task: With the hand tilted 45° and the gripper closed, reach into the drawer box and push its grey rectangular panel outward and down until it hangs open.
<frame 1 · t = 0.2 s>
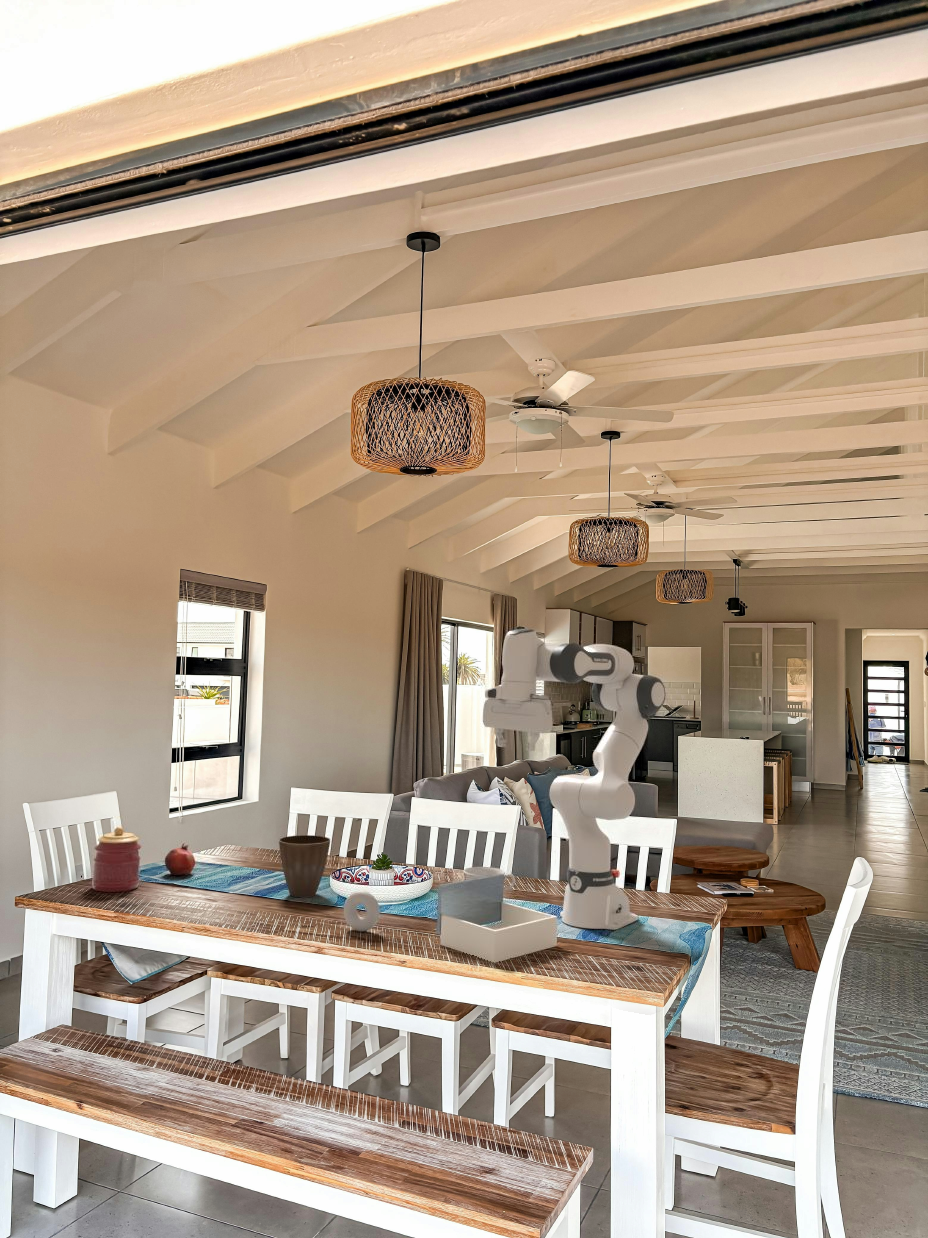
hand: (515, 748, 222), 47 cm above the table, tool pointing down, fingers open, 8 cm apart
donut: (360, 932, 224), on the table
teacup: (488, 908, 253), on the table
plant pot: (302, 895, 260), on the table
grey rectangular panel: (469, 902, 224), point 8 cm above the table, hinge at 0.0°
canister: (115, 888, 261), on the table
drawer box: (498, 945, 215), on the table
fruit: (179, 875, 281), on the table
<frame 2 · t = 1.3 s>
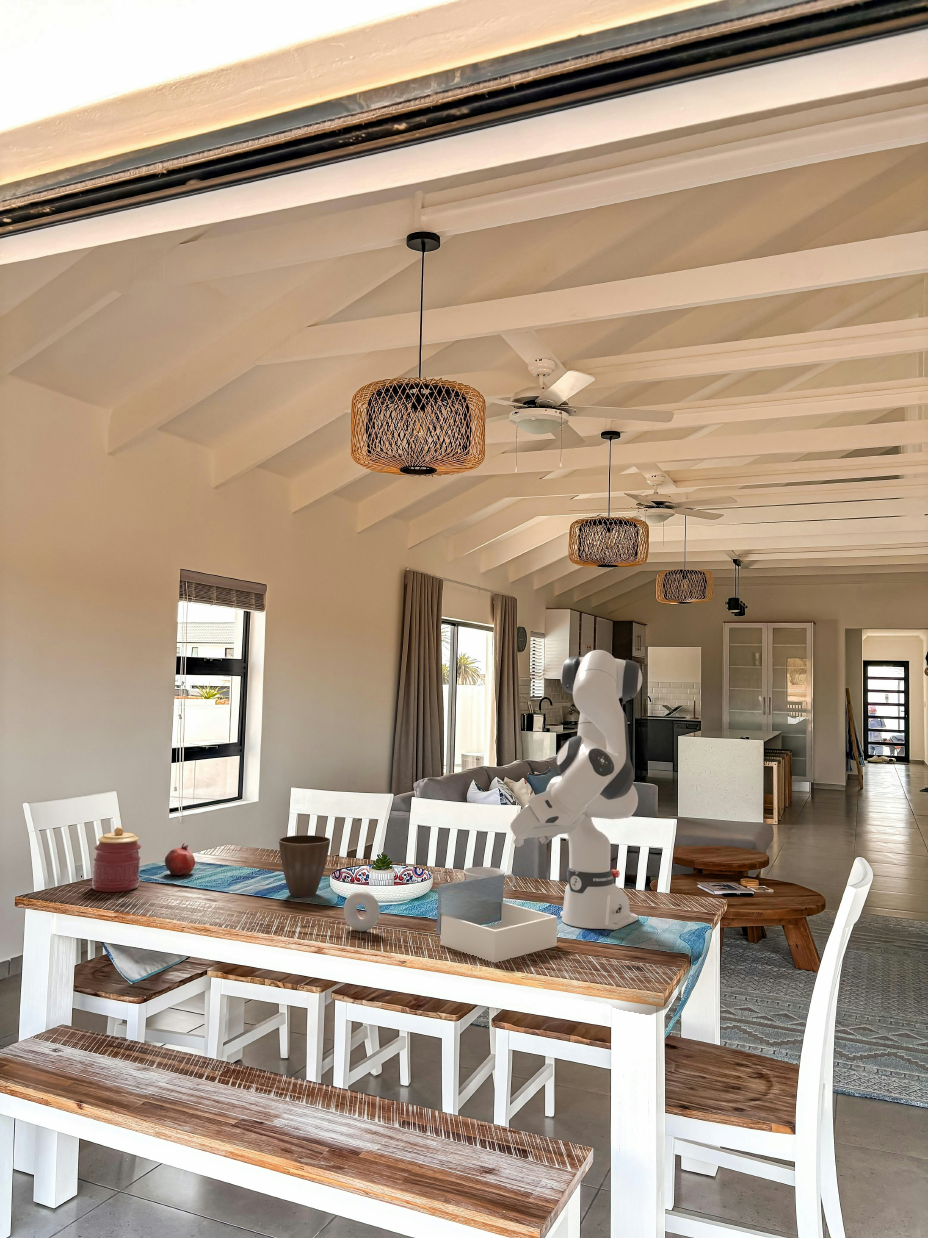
hand: (529, 842, 211), 26 cm above the table, tool tilted 45°, fingers open, 8 cm apart
nothing on the table moved.
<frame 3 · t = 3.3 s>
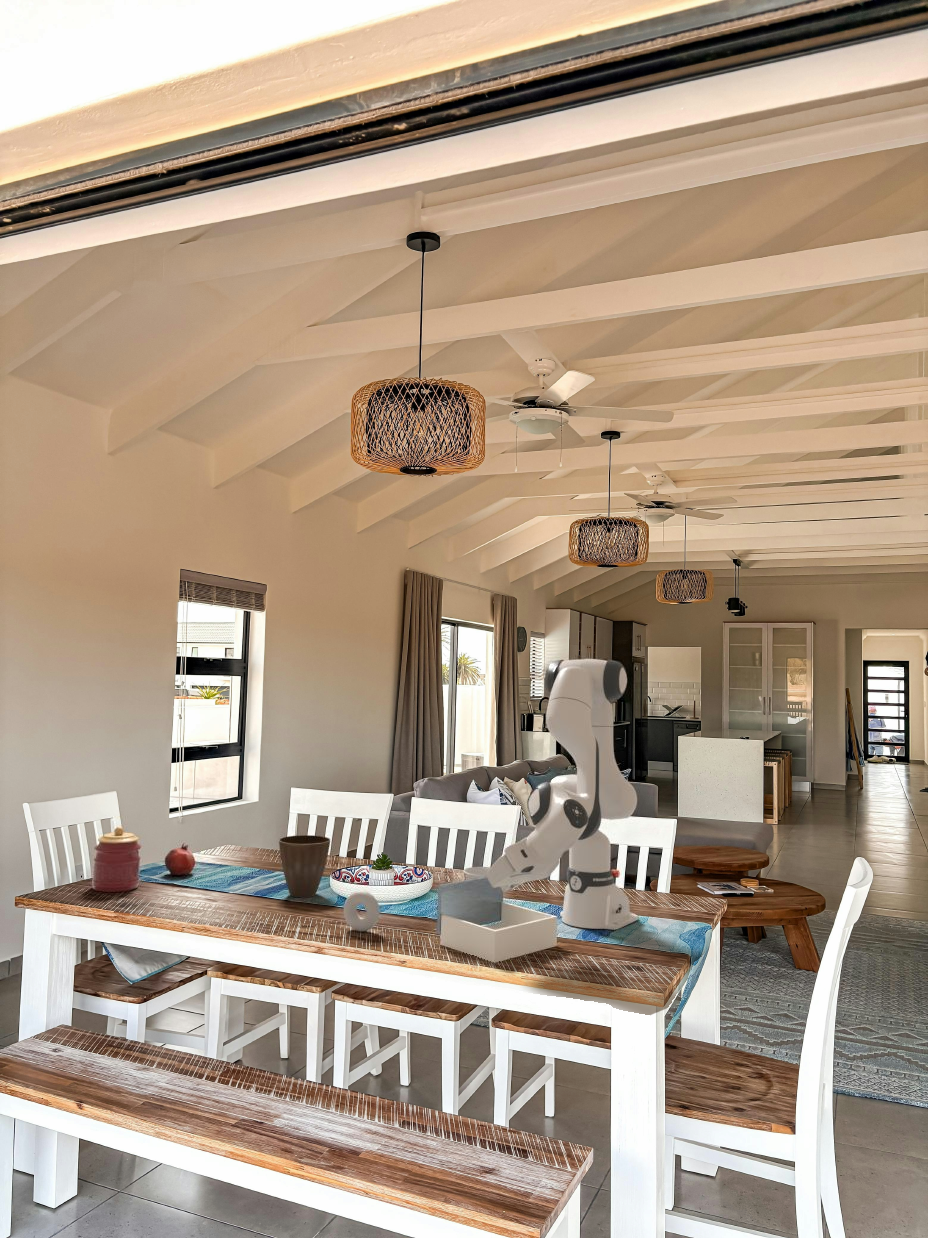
hand: (505, 889, 215), 14 cm above the table, tool tilted 45°, fingers closed
nothing on the table moved.
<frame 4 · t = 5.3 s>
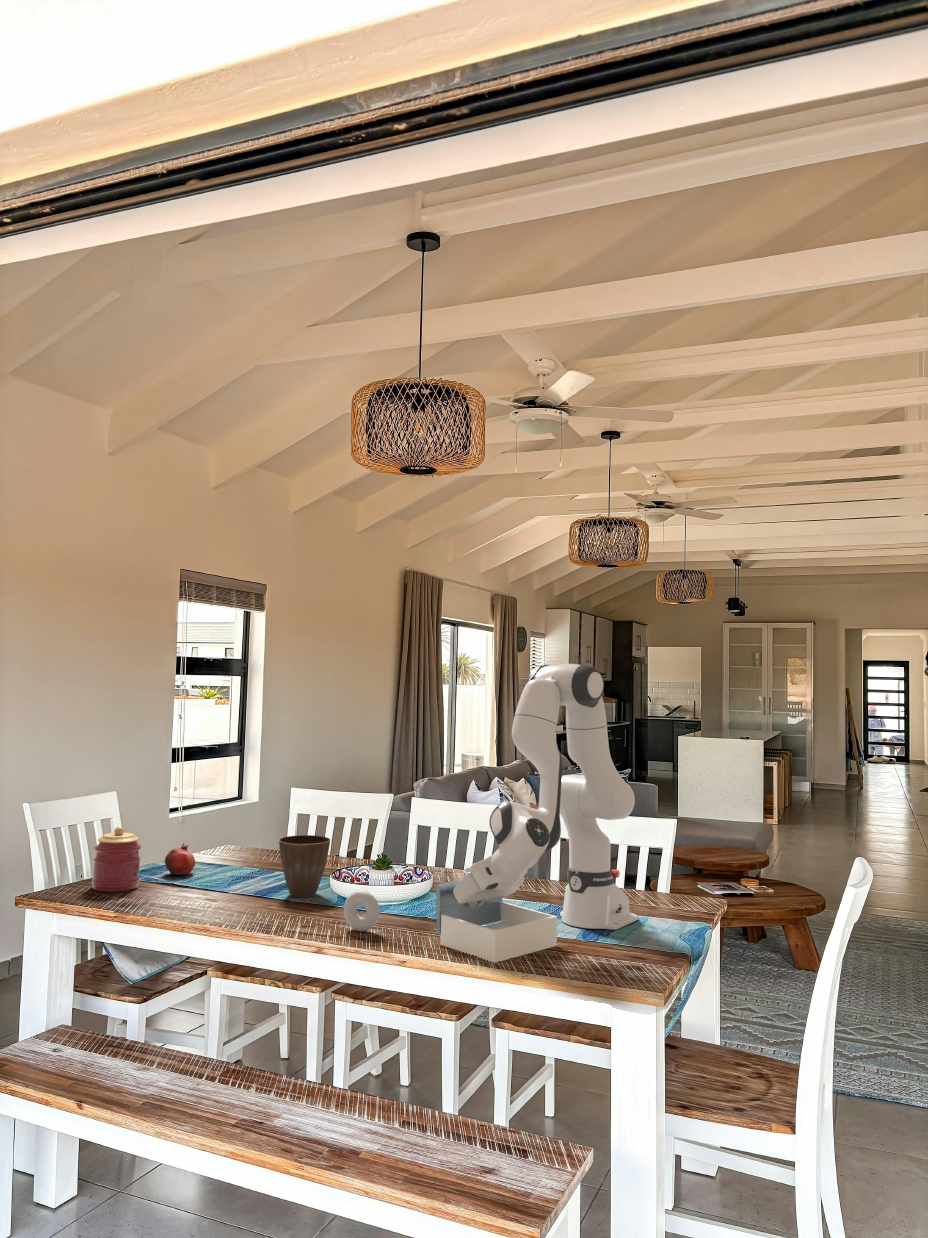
hand: (473, 904, 222), 8 cm above the table, tool tilted 45°, fingers closed, pressing on grey rectangular panel
grey rectangular panel: (468, 902, 224), point 8 cm above the table, hinge at 3.5°, touching gripper
everything else where it was.
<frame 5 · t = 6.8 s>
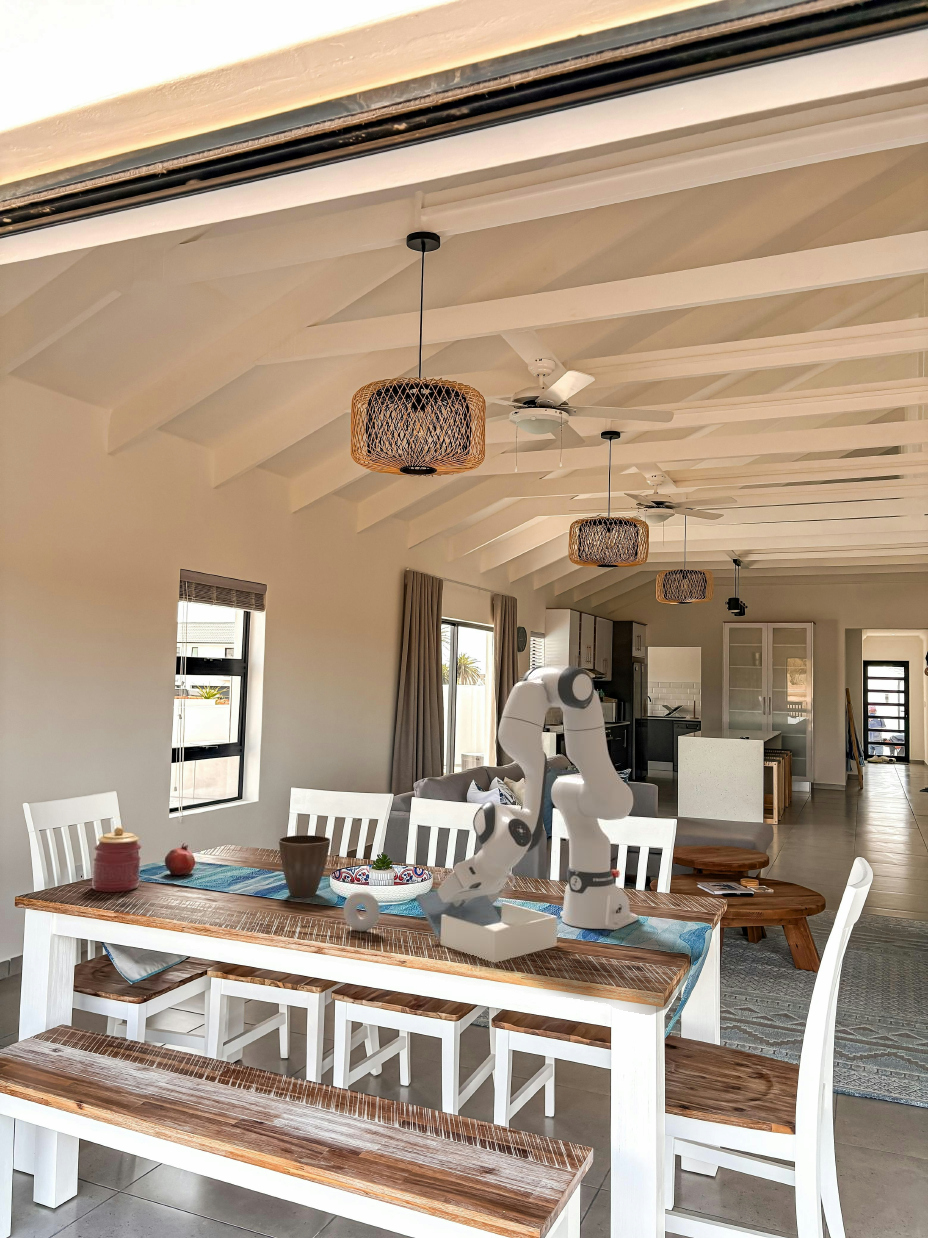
hand: (457, 904, 226), 7 cm above the table, tool tilted 45°, fingers closed, pressing on grey rectangular panel
grey rectangular panel: (458, 910, 226), point 5 cm above the table, hinge at 46.9°, touching gripper
everything else where it was.
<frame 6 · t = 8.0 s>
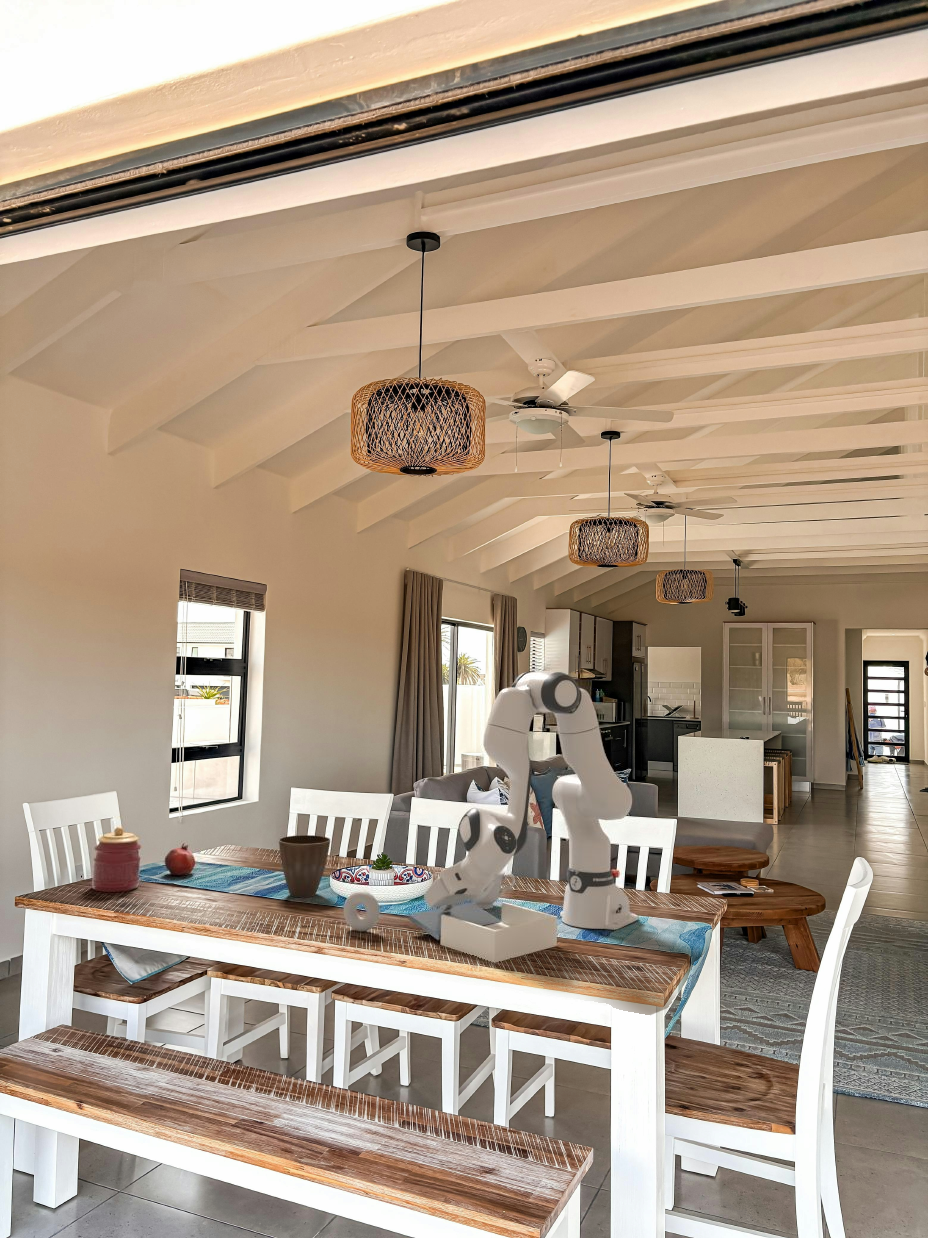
hand: (444, 908, 230), 5 cm above the table, tool tilted 45°, fingers closed
grey rectangular panel: (455, 922, 227), point 2 cm above the table, hinge at 76.9°, touching gripper
everything else where it was.
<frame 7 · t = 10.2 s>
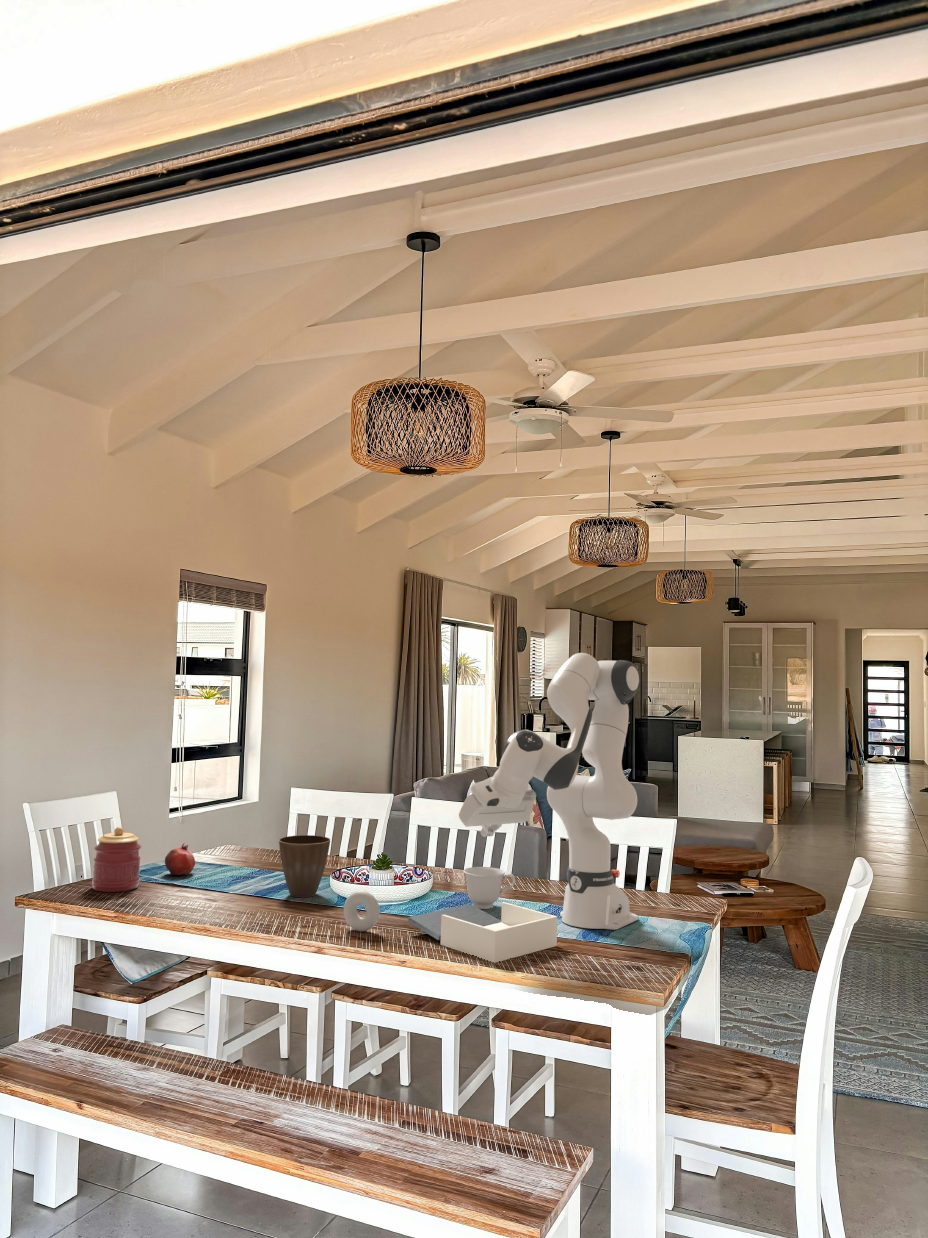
hand: (486, 835, 224), 25 cm above the table, tool tilted 35°, fingers closed
grey rectangular panel: (455, 923, 227), point 2 cm above the table, hinge at 79.9°
everything else where it was.
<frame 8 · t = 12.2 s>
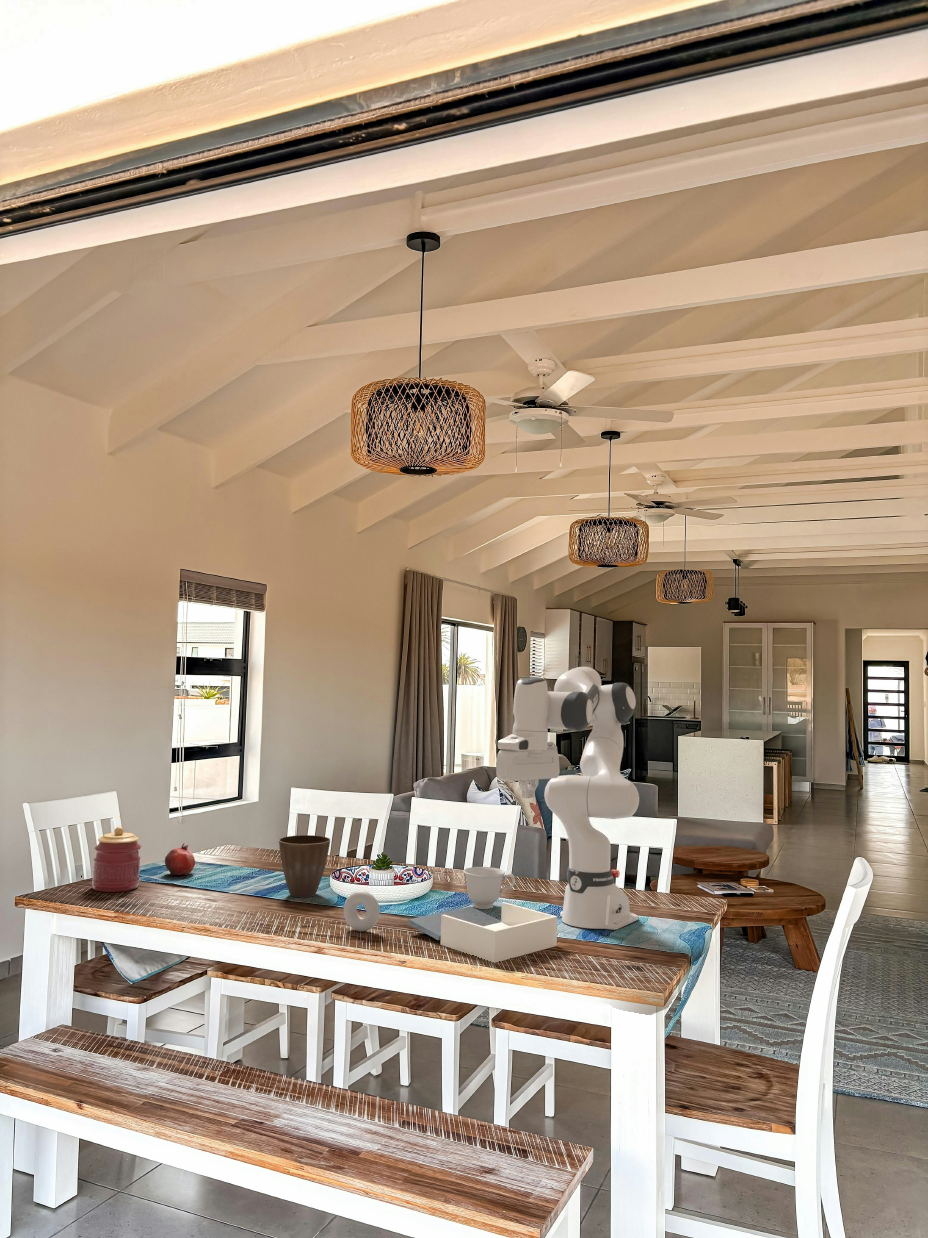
hand: (528, 798, 222), 35 cm above the table, tool pointing down, fingers closed
grey rectangular panel: (455, 924, 227), point 2 cm above the table, hinge at 82.7°
everything else where it was.
at the end: grey rectangular panel at +83° (first picture: +0°); donut moved 0.2 cm from its start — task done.
